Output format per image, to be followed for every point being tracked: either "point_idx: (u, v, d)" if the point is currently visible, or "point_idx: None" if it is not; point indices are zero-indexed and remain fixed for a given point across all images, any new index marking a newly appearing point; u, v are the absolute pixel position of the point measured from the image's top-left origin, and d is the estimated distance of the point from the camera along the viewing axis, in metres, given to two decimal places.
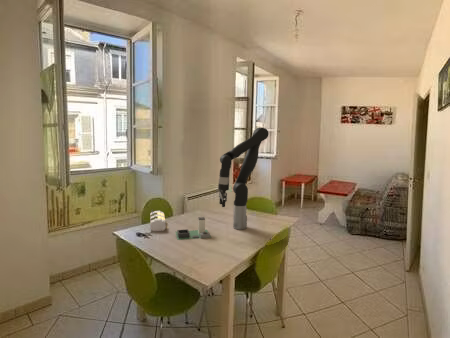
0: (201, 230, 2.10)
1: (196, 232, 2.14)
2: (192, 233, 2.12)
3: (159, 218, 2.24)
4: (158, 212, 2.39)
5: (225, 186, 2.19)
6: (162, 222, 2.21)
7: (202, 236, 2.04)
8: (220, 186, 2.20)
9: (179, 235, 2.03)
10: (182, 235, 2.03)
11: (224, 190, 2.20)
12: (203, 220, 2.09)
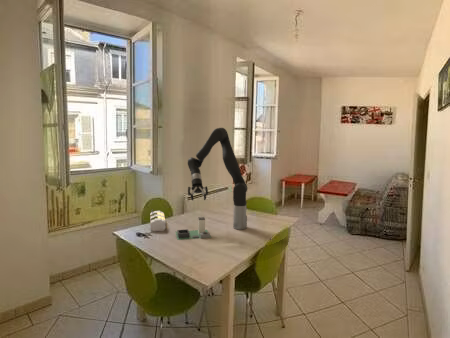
0: (201, 230, 2.10)
1: (196, 232, 2.14)
2: (192, 233, 2.12)
3: (159, 218, 2.24)
4: (158, 212, 2.39)
5: None
6: (162, 222, 2.21)
7: (202, 236, 2.04)
8: None
9: (179, 235, 2.03)
10: (182, 235, 2.03)
11: (192, 186, 2.27)
12: (203, 220, 2.09)
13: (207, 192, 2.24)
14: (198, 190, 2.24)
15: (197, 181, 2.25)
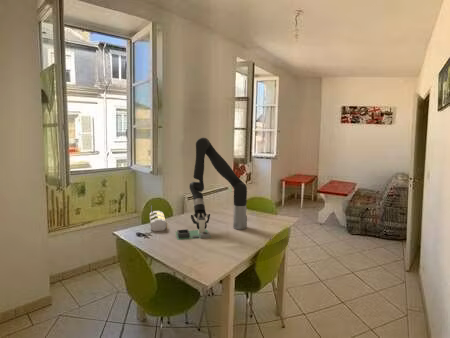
0: (201, 230, 2.10)
1: (196, 232, 2.14)
2: (192, 233, 2.12)
3: (159, 218, 2.25)
4: (157, 212, 2.40)
5: (194, 207, 2.18)
6: (162, 222, 2.21)
7: (202, 236, 2.04)
8: None
9: (179, 235, 2.03)
10: (182, 235, 2.03)
11: None
12: (203, 220, 2.09)
13: (208, 220, 2.13)
14: None
15: (200, 207, 2.15)
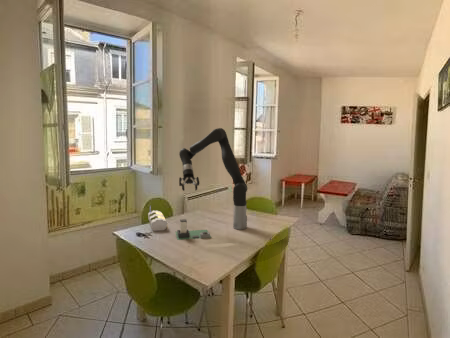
0: (182, 232, 2.05)
1: (196, 232, 2.14)
2: (192, 233, 2.12)
3: (160, 218, 2.25)
4: (156, 212, 2.40)
5: (183, 172, 2.27)
6: (163, 221, 2.22)
7: (202, 236, 2.04)
8: None
9: (179, 235, 2.03)
10: (182, 235, 2.03)
11: (183, 176, 2.26)
12: (185, 222, 2.04)
13: (198, 182, 2.24)
14: (189, 181, 2.24)
15: (189, 172, 2.25)
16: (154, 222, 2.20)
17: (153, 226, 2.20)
